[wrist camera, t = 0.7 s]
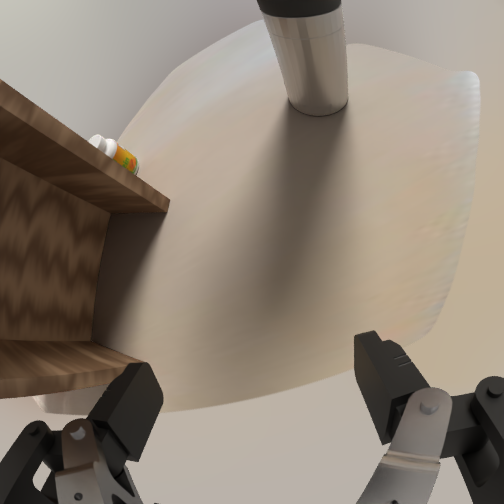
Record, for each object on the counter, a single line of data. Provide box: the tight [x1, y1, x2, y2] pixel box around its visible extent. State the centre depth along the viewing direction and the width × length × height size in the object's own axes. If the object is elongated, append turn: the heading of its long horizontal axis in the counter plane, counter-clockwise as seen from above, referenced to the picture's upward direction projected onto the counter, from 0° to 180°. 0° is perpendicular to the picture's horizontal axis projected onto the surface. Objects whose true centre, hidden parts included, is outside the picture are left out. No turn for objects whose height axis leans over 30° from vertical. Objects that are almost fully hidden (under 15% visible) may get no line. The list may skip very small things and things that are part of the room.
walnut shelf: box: [0, 79, 170, 399], centre depth 24 cm, size 26×14×32 cm, turn 172°
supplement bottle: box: [88, 135, 139, 175], centre depth 39 cm, size 5×5×10 cm
